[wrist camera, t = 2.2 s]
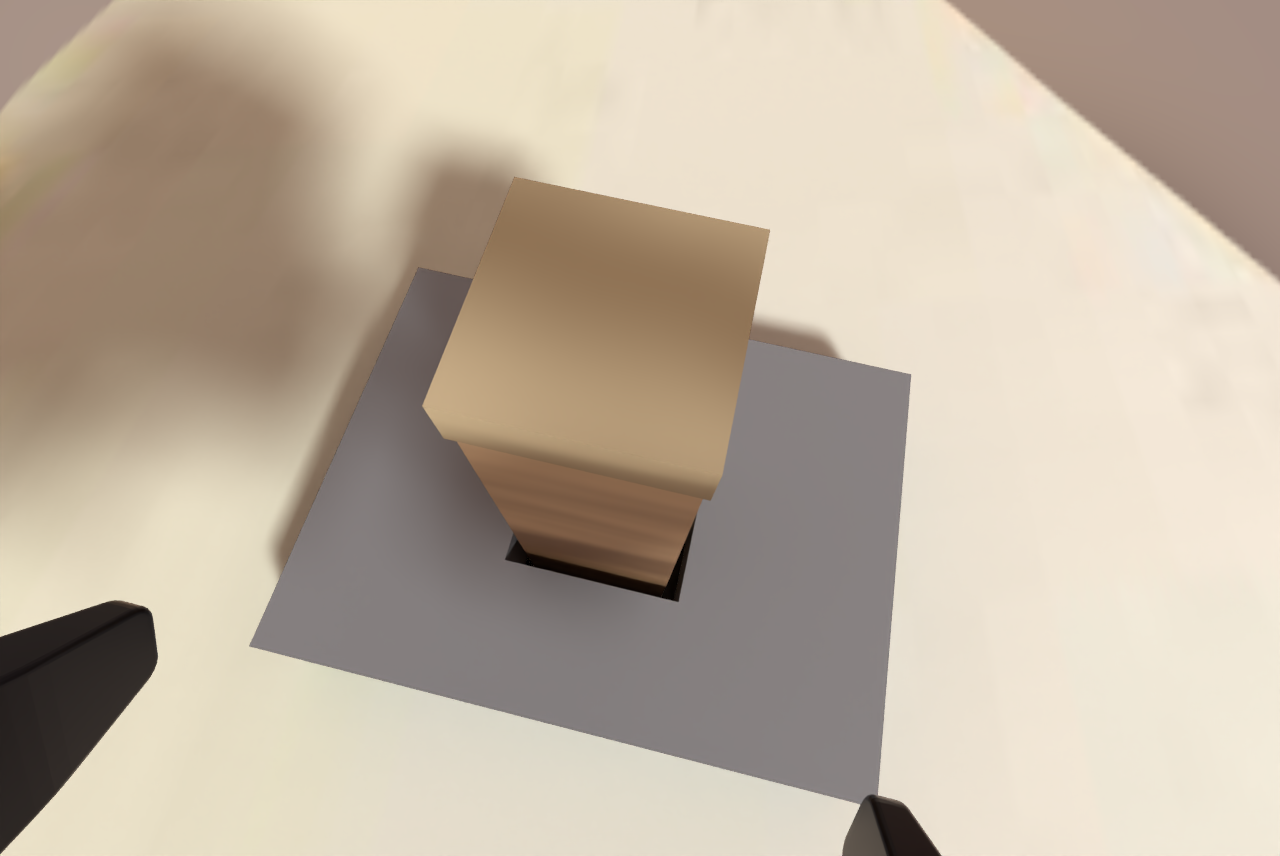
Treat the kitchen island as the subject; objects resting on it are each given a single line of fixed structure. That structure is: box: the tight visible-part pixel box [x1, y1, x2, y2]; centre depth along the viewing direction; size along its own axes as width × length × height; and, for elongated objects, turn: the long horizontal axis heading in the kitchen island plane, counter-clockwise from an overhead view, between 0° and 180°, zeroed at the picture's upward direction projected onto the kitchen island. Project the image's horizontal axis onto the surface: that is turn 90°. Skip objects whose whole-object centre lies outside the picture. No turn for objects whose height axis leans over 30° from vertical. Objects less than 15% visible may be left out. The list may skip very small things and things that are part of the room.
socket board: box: [250, 267, 911, 804], centre depth 20 cm, size 12×16×3 cm
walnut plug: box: [422, 177, 770, 598], centre depth 15 cm, size 4×4×12 cm
